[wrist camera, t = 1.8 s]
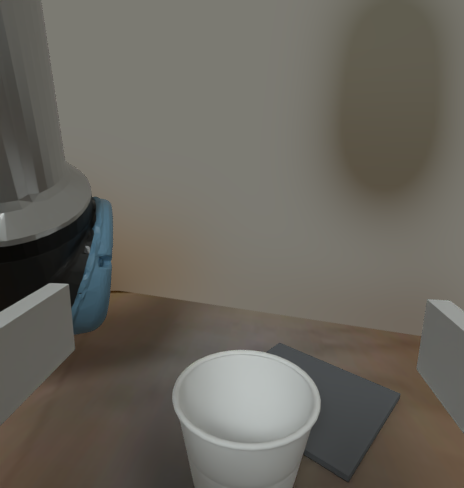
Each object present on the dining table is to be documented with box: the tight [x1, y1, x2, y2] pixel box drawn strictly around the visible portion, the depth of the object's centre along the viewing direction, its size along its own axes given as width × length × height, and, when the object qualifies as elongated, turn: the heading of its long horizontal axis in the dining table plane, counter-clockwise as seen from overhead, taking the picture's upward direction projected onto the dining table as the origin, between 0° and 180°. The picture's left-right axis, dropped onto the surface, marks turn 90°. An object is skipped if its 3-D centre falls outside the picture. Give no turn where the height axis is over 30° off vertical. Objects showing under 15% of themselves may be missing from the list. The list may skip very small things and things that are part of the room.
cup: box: [172, 350, 321, 488], centre depth 26 cm, size 10×10×11 cm
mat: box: [266, 343, 400, 482], centre depth 40 cm, size 16×14×1 cm
